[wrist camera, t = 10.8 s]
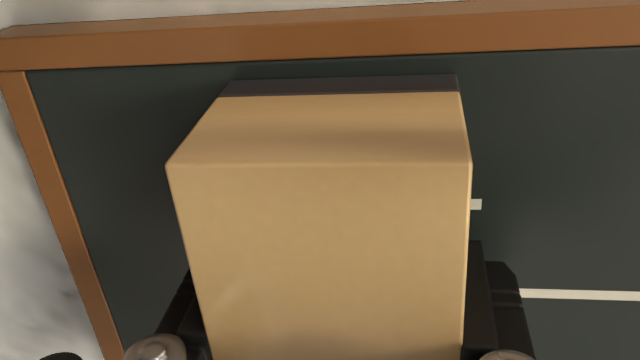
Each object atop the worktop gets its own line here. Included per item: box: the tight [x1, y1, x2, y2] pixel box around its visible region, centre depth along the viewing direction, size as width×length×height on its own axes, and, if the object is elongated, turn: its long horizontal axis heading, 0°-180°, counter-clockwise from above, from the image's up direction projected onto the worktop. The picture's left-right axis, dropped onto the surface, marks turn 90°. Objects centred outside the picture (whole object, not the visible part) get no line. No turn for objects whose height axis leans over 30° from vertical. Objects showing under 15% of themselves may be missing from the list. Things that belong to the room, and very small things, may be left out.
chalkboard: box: [0, 0, 640, 360], centre depth 15 cm, size 12×20×1 cm, turn 95°
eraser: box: [165, 74, 473, 360], centre depth 13 cm, size 10×5×4 cm, turn 5°
